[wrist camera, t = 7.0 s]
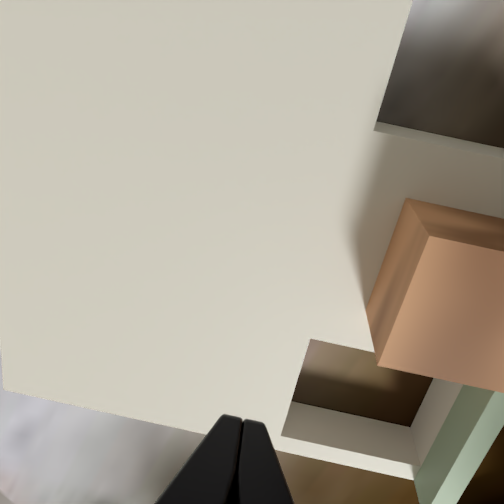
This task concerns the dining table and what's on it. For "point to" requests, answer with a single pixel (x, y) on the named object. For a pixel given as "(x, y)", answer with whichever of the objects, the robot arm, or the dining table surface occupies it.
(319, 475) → the dining table surface
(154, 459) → the dining table surface
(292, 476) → the dining table surface
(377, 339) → the block
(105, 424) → the dining table surface
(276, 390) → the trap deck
